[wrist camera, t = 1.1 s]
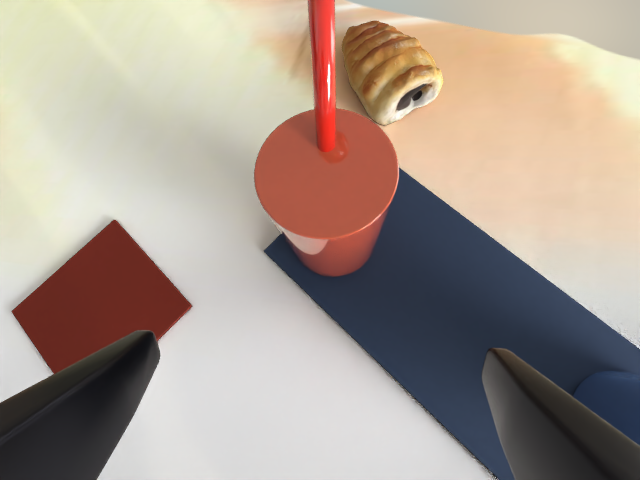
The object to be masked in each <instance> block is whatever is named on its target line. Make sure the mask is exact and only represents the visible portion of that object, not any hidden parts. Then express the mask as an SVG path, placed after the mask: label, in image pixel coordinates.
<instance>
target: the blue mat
mask: <svg viewBox="0 0 640 480" xmlns="http://www.w3.org/2000/svg"><path fill="white" fill-rule="evenodd" d="M264 252H265V253H266V254H267V255H268V256H269V257H270V258H271V259H272V260H273V261H274V262H275V263H276V264H277V265H278V266H279V267H280V268H281V269H282V270H283V271H285V272H286V273H287V274H288V275H289V276H290V277H291V278H292V279H293V280H294V281H295V282H296V283H297V284H298V285H299V286H300V287H301V288H302V289H303V290H304V291H305V292H306V293H307V294H308V295H309V296H310V297H311V298H312V299H313V300H314V301H315V302H316V303H318V304H319V305H320V306H321V307H322V308H323V309H324V310H325V311H326V312H327V313H328V314H329V315H330V316H331V317H332V318H333V319H334V320H335V321H336V322H337V323H338V324H339V325H340V326H341V327H342V328H343V329H344V330H345V331H346V332H347V333H348V334H349V335H351V336H352V337H353V338H354V339H355V340H356V341H357V342H358V343H359V344H360V345H361V346H362V347H363V348H364V349H365V350H366V351H367V352H368V353H369V354H370V355H371V356H372V357H373V358H374V359H375V360H376V361H377V362H378V363H379V364H380V365H381V366H382V367H384V368H385V369H386V370H387V371H388V372H389V373H390V374H391V375H392V376H393V377H394V378H395V379H396V380H397V381H398V382H399V383H400V384H401V385H402V386H403V387H404V388H405V389H406V390H407V391H408V392H409V393H410V394H411V395H412V396H413V397H414V398H415V399H417V400H418V401H419V402H420V403H421V404H422V405H423V406H424V407H425V408H426V409H427V410H428V411H429V412H430V413H431V414H432V415H433V416H434V417H435V418H436V419H437V420H438V421H439V422H440V423H441V424H442V425H443V426H444V427H445V428H446V429H447V430H448V431H450V432H451V433H452V434H453V435H454V436H455V437H456V438H457V439H458V440H459V441H460V442H461V443H462V444H463V445H464V446H465V447H466V448H467V449H468V450H469V451H470V452H471V453H472V454H473V455H474V456H475V457H476V458H477V459H478V460H479V461H480V462H481V463H483V464H484V465H485V466H486V467H487V468H488V469H489V470H490V471H491V472H492V473H493V474H494V475H495V476H496V477H497V478H498V479H499V480H515V477H514V475H513V473H512V470H511V468H510V465H509V463H508V460H507V458H506V455H505V453H504V450H503V448H502V445H501V442H500V439H499V436H498V433H497V429H496V426H495V423H494V419H493V416H492V412H491V409H490V406H489V402H488V399H487V395H486V392H485V389H484V385H483V382H482V377H481V372H482V367H483V364H484V360H485V356H486V352H487V350H488V349H489V348H505V349H508V350H509V351H511V352H512V353H514V354H515V355H516V356H518V357H519V358H520V359H522V360H523V361H525V362H526V363H527V364H529V365H530V366H531V367H533V368H534V369H535V370H537V371H538V372H540V373H541V374H542V375H544V376H545V377H546V378H548V379H549V380H550V381H552V382H553V383H555V384H556V385H557V386H559V387H560V388H561V389H563V390H564V391H566V392H567V393H568V394H570V395H571V396H572V397H573V394H574V392H575V390H576V389H577V387H578V386H579V384H580V383H581V382H582V381H583V380H584V379H586V378H587V377H589V376H590V375H593V374H595V373H598V372H602V371H621V372H627V373H633V374H640V349H639V348H637V347H636V346H635V345H633V344H632V343H631V342H629V341H628V340H627V339H625V338H624V337H623V336H621V335H620V334H619V333H617V332H616V331H615V330H613V329H612V328H611V327H609V326H608V325H607V324H605V323H604V322H603V321H601V320H600V319H599V318H597V317H596V316H595V315H594V314H592V313H591V312H590V311H588V310H587V309H586V308H584V307H583V306H582V305H580V304H579V303H578V302H576V301H575V300H574V299H572V298H571V297H570V296H568V295H567V294H566V293H564V292H563V291H562V290H560V289H559V288H558V287H556V286H555V285H554V284H552V283H551V282H550V281H548V280H547V279H546V278H545V277H543V276H542V275H541V274H539V273H538V272H537V271H535V270H534V269H533V268H531V267H530V266H529V265H527V264H526V263H525V262H523V261H522V260H521V259H519V258H518V257H517V256H515V255H514V254H513V253H511V252H510V251H509V250H507V249H506V248H505V247H503V246H502V245H501V244H499V243H498V242H497V241H495V240H494V239H493V238H492V237H490V236H489V235H488V234H486V233H485V232H484V231H482V230H481V229H480V228H478V227H477V226H476V225H474V224H473V223H472V222H470V221H469V220H468V219H466V218H465V217H464V216H462V215H461V214H460V213H458V212H457V211H456V210H454V209H453V208H452V207H450V206H449V205H448V204H446V203H445V202H444V201H442V200H441V199H440V198H439V197H437V196H436V195H435V194H433V193H432V192H431V191H429V190H428V189H427V188H425V187H424V186H423V185H421V184H420V183H419V182H417V181H416V180H415V179H413V178H412V177H411V176H409V175H408V174H407V173H405V172H404V171H403V170H401V169H400V168H399V179H398V184H397V188H396V191H395V194H394V197H393V200H392V202H391V205H390V208H389V210H388V213H387V216H386V218H385V221H384V224H383V226H382V229H381V232H380V234H379V237H378V240H377V242H376V245H375V248H374V250H373V252H372V254H371V256H370V258H369V259H368V260H367V261H366V263H365V264H364V265H363V266H361V267H360V268H359V269H357V270H356V271H354V272H352V273H350V274H346V275H343V276H334V277H331V276H324V275H320V274H317V273H315V272H313V271H311V270H309V269H308V268H307V267H305V266H304V265H303V264H302V263H301V262H300V260H299V259H298V258H297V256H296V255H295V253H294V252H293V251H292V249H291V248H290V246H289V245H288V243H287V242H286V240H285V239H284V237H283V236H282V235H281V234H280V235H279V236H278V237H277V238H276V239H275V240H274V241H273V242H272V243H271V244H270V245H269V246H268V247H267V248H266V249H265V250H264Z"/></svg>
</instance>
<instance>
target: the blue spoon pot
mask: <svg viewBox="0 0 640 480" xmlns="http://www.w3.org/2000/svg"><path fill="white" fill-rule="evenodd" d="M573 397H574V398H575V399H576V400H578V401H579V402H581V403H582V404H583V405H585V406H586V407H587V408H589V409H590V410H591V411H593V412H594V413H596V414H597V415H598V416H600V417H601V418H602V419H604V420H605V421H606V422H608V423H609V424H611V425H612V426H613V427H615V428H616V429H617V430H619V431H620V432H622V433H623V434H624V435H626V436H627V437H628V438H630V439H631V440H632V441H634V442H635V443H637V444H638V445H639V446H640V374H633V373H627V372H621V371H602V372H598V373H595V374H593V375H590V376H589V377H587V378H586V379H584V380H583V381H582V382H581V383H580V384H579V386H578V387H577V389H576V390H575V392H574V394H573Z"/></svg>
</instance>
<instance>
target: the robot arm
mask: <svg viewBox="0 0 640 480" xmlns="http://www.w3.org/2000/svg"><path fill="white" fill-rule="evenodd" d="M159 359H160V350H159V347H158V344H157V340H156V337H155V334H154V333H153V331H150V330H136V331H134V332H132V333H130V334H129V335H127V336H125V337H123V338H121V339H119V340H117V341H115V342H114V343H112V344H110V345H108V346H106V347H104V348H102V349H100V350H99V351H97V352H95V353H93V354H91V355H89V356H87V357H85V358H84V359H82V360H80V361H78V362H76V363H74V364H72V365H70V366H69V367H67V368H65V369H63V370H61V371H59V372H57V373H55V374H53V375H52V376H50V377H48V378H46V379H44V380H42V381H40V382H38V383H37V384H35V385H33V386H31V387H29V388H27V389H25V390H23V391H22V392H20V393H18V394H16V395H14V396H12V397H10V398H8V399H7V400H5V401H3V402H1V403H0V480H97V478H98V476H99V475H100V473H101V471H102V470H103V468H104V466H105V464H106V463H107V461H108V459H109V458H110V456H111V454H112V452H113V451H114V449H115V447H116V445H117V444H118V442H119V440H120V439H121V437H122V435H123V433H124V432H125V430H126V428H127V426H128V425H129V423H130V421H131V419H132V417H133V416H134V414H135V412H136V410H137V408H138V406H139V403H140V401H141V399H142V397H143V395H144V393H145V391H146V388H147V386H148V384H149V382H150V380H151V378H152V375H153V373H154V371H155V369H156V367H157V365H158V362H159ZM481 377H482V382H483V385H484V389H485V392H486V395H487V399H488V402H489V406H490V409H491V412H492V416H493V419H494V423H495V426H496V429H497V433H498V436H499V439H500V442H501V445H502V448H503V450H504V453H505V455H506V458H507V460H508V463H509V465H510V468H511V470H512V473H513V475H514V477H515V480H640V446H639V445H638V444H637V443H635V442H634V441H632V440H631V439H630V438H628V437H627V436H626V435H624V434H623V433H622V432H620V431H619V430H617V429H616V428H615V427H613V426H612V425H611V424H609V423H608V422H606V421H605V420H604V419H602V418H601V417H600V416H598V415H597V414H596V413H594V412H593V411H591V410H590V409H589V408H587V407H586V406H585V405H583V404H582V403H581V402H579V401H578V400H576V399H575V398H574V397H572V396H571V395H570V394H568V393H567V392H566V391H564V390H563V389H561V388H560V387H559V386H557V385H556V384H555V383H553V382H552V381H550V380H549V379H548V378H546V377H545V376H544V375H542V374H541V373H540V372H538V371H537V370H535V369H534V368H533V367H531V366H530V365H529V364H527V363H526V362H525V361H523V360H522V359H520V358H519V357H518V356H516V355H515V354H514V353H512V352H511V351H509V350H508V349H505V348H489V349H488V350H487V352H486V356H485V360H484V364H483V367H482V372H481Z"/></svg>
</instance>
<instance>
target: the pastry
mask: <svg viewBox="0 0 640 480" xmlns="http://www.w3.org/2000/svg"><path fill="white" fill-rule="evenodd" d="M342 52H343V55H344V66H345V68H346V71H347V73H348V76H349V83H350V85H351V87H352V88H353V89H354V90H355V91H356V93H357V96H358V97H359V99H360V101H361V103H362V104H363V106H364V108H365V110H366V112H367V113H368V115H369V116H370V118H372V119H373V120H374V121H376V122H377V123H379V124H382V125H386V124H390V123H392V122H394V121H397V120H399V119H401V118H402V117H403V116H405V115H407V114H408V113H409V112H411V111H412V110H413V109H415V108H419V107H422V106H425V105H427V104H428V103H430V102H432V101H433V100H434V99H435V98H436V96H437V95H438V94H439V92H440V90H441V87H442V84H443V78H442V74H441V70H440V69H438V68H437V67H436V65H435V62H434V60H433V58H432V56H431V55H430V54H429V53H428V52H427V51H426V50H424V49H423V48H422V47H421V45H420V43H419V41H418V40H417V39H416V38H411V37H410V36H407V35H404V34H403V33H401V32H400V31H397V30H396V28H394V27H393V26H389V25H388V24H385V23H380V22H379V21H371V22H367V23H364V24H361V25H359V26H352V27H349V29H348V30H347V32H346V35H345V37H344V39H343V42H342Z"/></svg>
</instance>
